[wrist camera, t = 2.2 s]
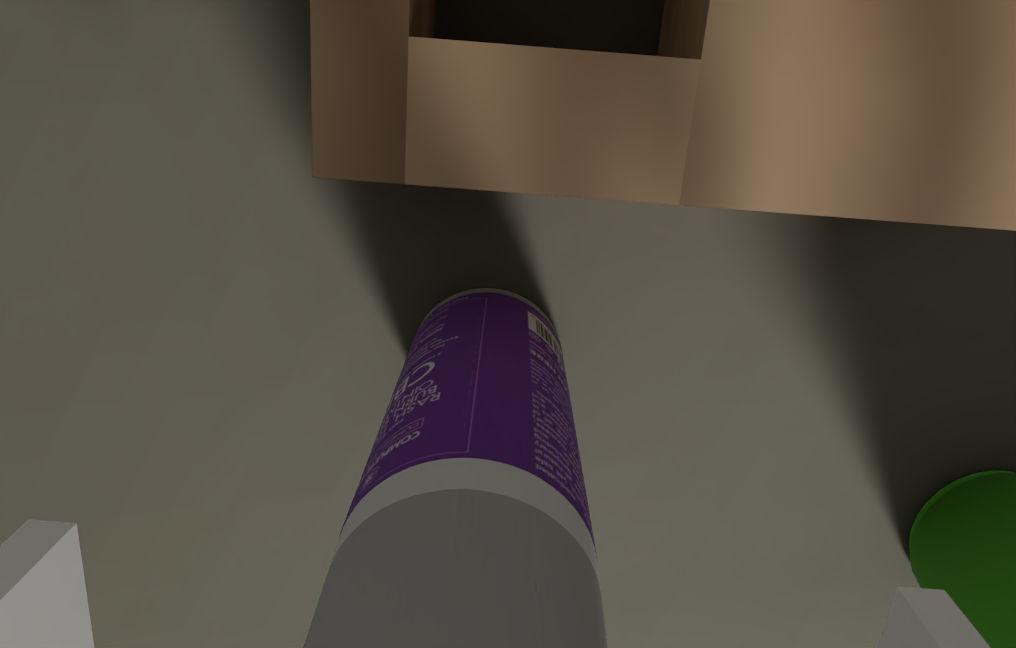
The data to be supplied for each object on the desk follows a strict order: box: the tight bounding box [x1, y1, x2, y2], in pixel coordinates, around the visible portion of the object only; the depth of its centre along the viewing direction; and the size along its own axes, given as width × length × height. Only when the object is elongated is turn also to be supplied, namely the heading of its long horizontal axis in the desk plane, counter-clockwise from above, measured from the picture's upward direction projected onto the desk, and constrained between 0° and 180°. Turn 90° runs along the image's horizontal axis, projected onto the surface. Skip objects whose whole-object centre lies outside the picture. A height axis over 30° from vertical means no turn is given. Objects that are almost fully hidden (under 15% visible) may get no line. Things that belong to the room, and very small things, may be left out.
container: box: [303, 288, 608, 648], centre depth 16 cm, size 5×5×15 cm
